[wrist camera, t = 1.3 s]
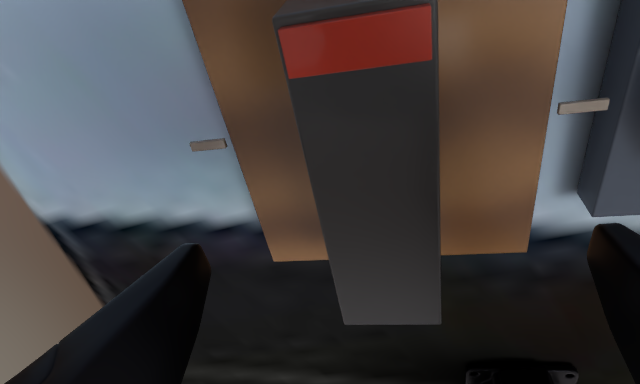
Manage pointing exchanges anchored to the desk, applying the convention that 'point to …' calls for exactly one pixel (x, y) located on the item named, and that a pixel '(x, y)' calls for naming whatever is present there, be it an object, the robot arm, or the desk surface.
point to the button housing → (616, 127)
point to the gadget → (371, 148)
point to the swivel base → (454, 118)
